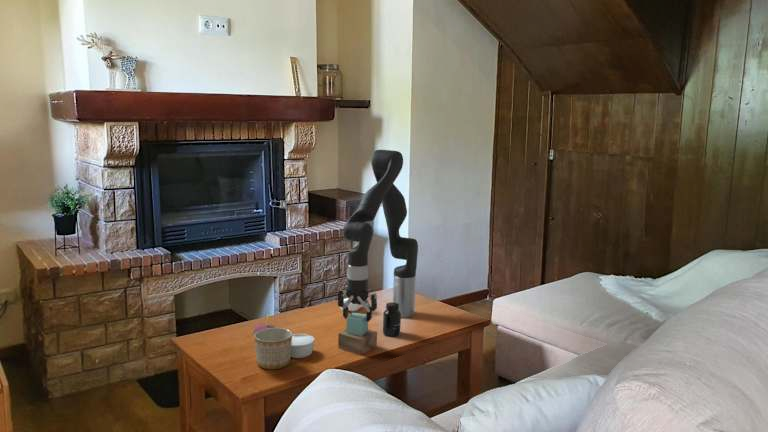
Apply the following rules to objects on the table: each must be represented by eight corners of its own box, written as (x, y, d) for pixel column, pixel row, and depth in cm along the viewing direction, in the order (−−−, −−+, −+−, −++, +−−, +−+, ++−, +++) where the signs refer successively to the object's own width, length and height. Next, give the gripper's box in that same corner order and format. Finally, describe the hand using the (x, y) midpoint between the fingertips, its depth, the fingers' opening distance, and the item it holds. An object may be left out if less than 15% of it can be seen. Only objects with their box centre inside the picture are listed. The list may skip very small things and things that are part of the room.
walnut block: (355, 340, 228) (355, 325, 227) (376, 347, 222) (377, 331, 221) (338, 348, 220) (338, 333, 219) (359, 355, 214) (360, 339, 213)
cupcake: (280, 340, 226) (280, 309, 224) (268, 348, 218) (268, 316, 216) (260, 337, 229) (259, 306, 226) (248, 345, 221) (247, 313, 219)
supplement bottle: (398, 337, 231) (399, 307, 229) (381, 336, 232) (381, 306, 230) (401, 331, 238) (402, 302, 235) (384, 329, 239) (385, 300, 237)
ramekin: (313, 346, 221) (313, 332, 220) (316, 358, 210) (316, 344, 209) (282, 348, 219) (281, 334, 218) (283, 360, 208) (283, 346, 207)
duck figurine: (341, 317, 258) (350, 302, 251) (333, 303, 262) (342, 287, 255) (364, 312, 265) (373, 297, 258) (356, 298, 269) (365, 283, 262)
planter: (248, 361, 207) (248, 332, 205) (282, 353, 214) (282, 325, 212) (264, 374, 197) (263, 344, 195) (298, 365, 204) (298, 336, 202)
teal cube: (353, 328, 224) (353, 312, 223) (368, 330, 222) (368, 314, 221) (346, 333, 218) (346, 317, 217) (361, 336, 216) (362, 320, 215)
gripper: (379, 275, 218) (379, 318, 221) (343, 271, 222) (342, 313, 225) (372, 281, 211) (372, 325, 214) (335, 277, 215) (335, 320, 218)
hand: (357, 319), depth 220 cm, fingers open, 8 cm apart
